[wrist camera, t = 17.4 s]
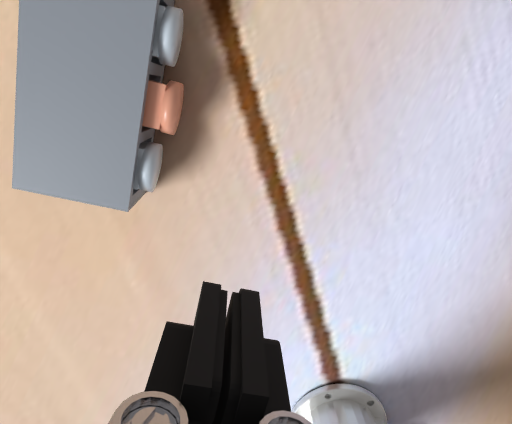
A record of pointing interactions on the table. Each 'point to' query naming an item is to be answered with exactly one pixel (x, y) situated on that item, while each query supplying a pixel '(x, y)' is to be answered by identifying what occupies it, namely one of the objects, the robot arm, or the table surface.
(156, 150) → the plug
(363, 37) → the table surface
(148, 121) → the plug terracotta
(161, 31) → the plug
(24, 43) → the socket block
